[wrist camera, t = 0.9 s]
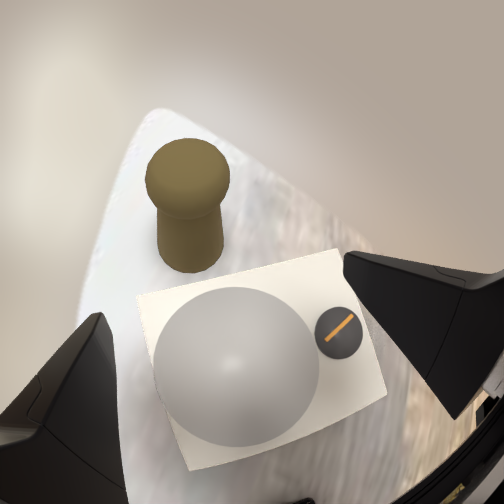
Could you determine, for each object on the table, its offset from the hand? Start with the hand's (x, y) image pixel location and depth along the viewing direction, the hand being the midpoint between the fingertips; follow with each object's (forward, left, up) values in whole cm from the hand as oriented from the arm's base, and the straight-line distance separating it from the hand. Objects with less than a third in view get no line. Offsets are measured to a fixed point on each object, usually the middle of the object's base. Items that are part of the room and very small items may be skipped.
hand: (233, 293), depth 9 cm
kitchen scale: (-3, -3, -14) cm, 14 cm away
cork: (+9, 0, -14) cm, 16 cm away
